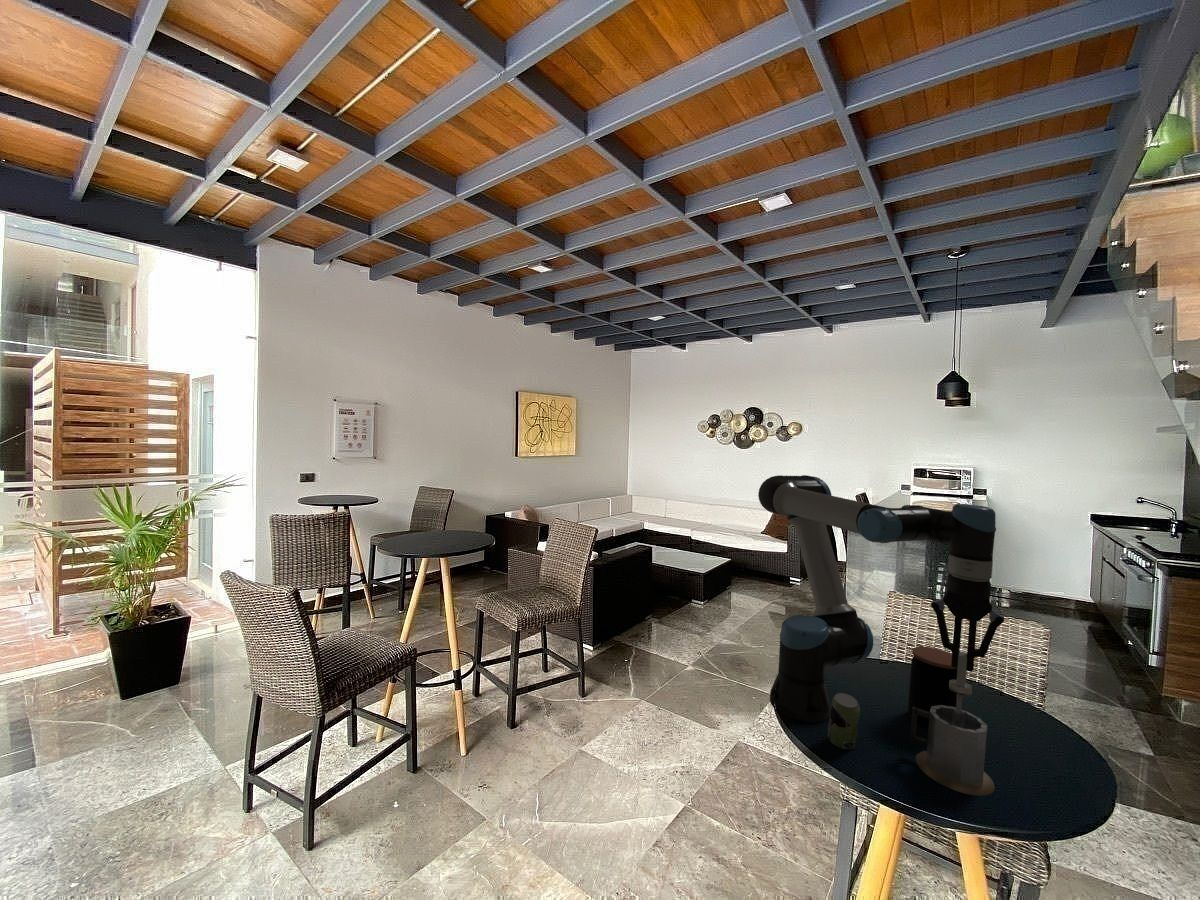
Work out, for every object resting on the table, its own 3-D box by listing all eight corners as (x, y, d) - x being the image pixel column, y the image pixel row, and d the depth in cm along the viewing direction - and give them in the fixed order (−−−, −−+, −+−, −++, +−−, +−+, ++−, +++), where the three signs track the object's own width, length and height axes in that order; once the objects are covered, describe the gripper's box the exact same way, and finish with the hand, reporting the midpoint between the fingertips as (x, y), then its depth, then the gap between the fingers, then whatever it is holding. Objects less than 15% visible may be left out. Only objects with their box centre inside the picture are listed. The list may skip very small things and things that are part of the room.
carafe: (905, 764, 108) (909, 712, 107) (912, 743, 116) (915, 694, 115) (981, 795, 99) (986, 738, 99) (983, 771, 107) (987, 718, 106)
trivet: (911, 774, 106) (911, 772, 106) (920, 744, 116) (920, 742, 116) (993, 809, 97) (994, 806, 97) (995, 773, 107) (995, 770, 107)
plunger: (936, 741, 106) (940, 684, 105) (939, 728, 111) (943, 673, 110) (974, 756, 101) (979, 696, 101) (975, 741, 106) (980, 684, 106)
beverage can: (847, 736, 118) (850, 688, 118) (863, 757, 111) (866, 705, 110) (821, 735, 118) (824, 687, 118) (835, 755, 111) (839, 704, 110)
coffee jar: (965, 739, 119) (971, 668, 119) (917, 732, 121) (923, 662, 121) (944, 715, 130) (949, 649, 129) (900, 708, 132) (905, 643, 131)
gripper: (930, 573, 106) (923, 678, 107) (1008, 587, 98) (999, 702, 98) (934, 567, 112) (927, 667, 113) (1008, 580, 103) (999, 688, 104)
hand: (960, 683), depth 106 cm, fingers closed
